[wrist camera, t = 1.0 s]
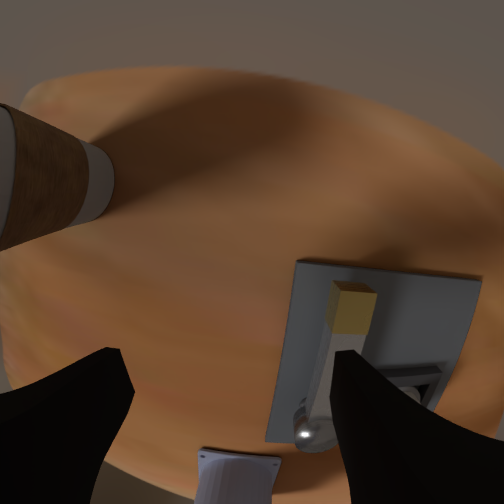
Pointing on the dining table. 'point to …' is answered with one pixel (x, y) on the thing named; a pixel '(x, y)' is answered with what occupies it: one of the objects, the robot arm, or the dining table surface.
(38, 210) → the coffee cup
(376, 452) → the robot arm
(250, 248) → the dining table surface
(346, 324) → the clip
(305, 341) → the panel
